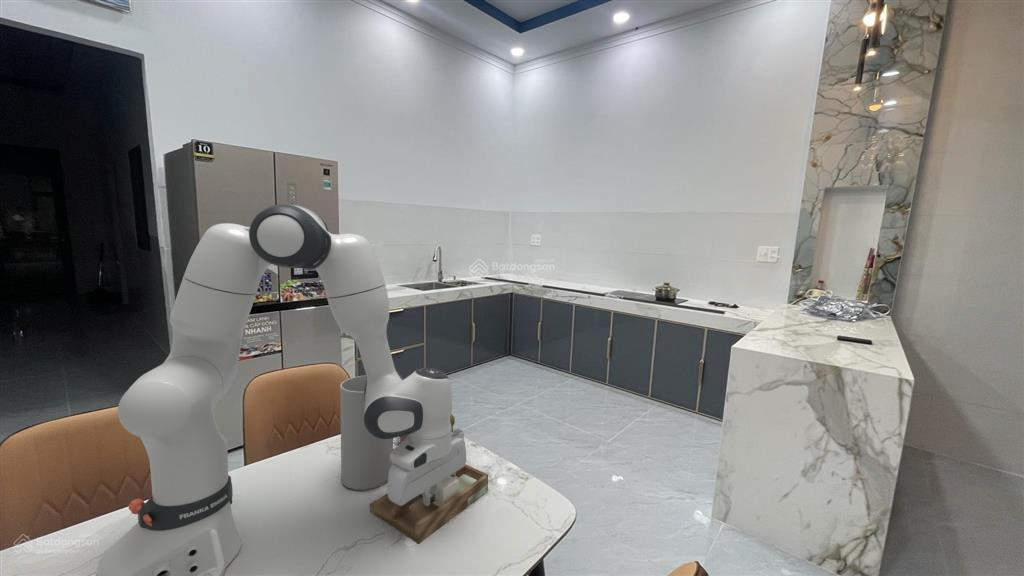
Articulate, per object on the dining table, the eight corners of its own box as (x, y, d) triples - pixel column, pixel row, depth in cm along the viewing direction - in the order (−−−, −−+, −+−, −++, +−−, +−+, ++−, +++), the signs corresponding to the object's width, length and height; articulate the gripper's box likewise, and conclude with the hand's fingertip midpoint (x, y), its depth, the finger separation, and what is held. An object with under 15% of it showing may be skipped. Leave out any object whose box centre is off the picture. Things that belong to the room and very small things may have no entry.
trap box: (418, 544, 83) (418, 525, 82) (369, 512, 92) (369, 495, 91) (489, 490, 101) (489, 475, 101) (442, 468, 111) (443, 454, 110)
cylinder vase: (363, 498, 97) (363, 396, 94) (330, 480, 103) (329, 384, 100) (403, 473, 107) (403, 381, 105) (371, 459, 114) (371, 372, 111)
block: (443, 509, 91) (443, 490, 90) (427, 500, 94) (427, 481, 93) (458, 498, 95) (459, 479, 94) (443, 490, 98) (443, 472, 97)
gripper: (453, 422, 99) (452, 476, 101) (382, 456, 82) (382, 520, 84) (473, 430, 95) (471, 485, 97) (403, 467, 79) (403, 533, 80)
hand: (430, 502), depth 90 cm, fingers closed
